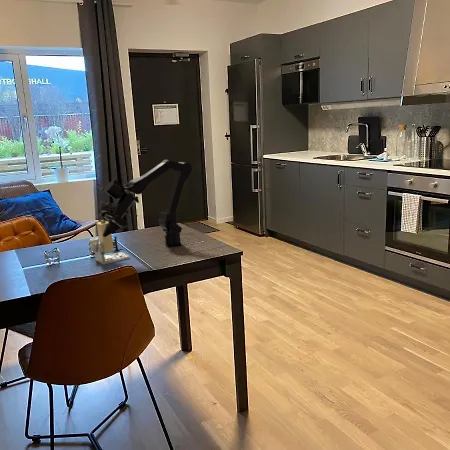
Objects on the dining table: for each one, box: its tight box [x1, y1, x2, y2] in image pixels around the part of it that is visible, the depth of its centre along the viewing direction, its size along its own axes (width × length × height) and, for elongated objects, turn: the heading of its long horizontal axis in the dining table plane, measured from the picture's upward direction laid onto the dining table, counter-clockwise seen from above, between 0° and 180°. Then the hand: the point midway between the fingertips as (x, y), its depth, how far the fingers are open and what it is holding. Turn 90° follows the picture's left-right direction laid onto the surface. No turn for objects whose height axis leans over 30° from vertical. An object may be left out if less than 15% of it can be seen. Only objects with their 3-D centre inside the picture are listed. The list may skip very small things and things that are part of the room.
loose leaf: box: [96, 219, 115, 254], centre depth 202 cm, size 4×5×14 cm
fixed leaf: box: [93, 243, 130, 266], centre depth 204 cm, size 12×9×8 cm
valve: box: [89, 235, 119, 252], centre depth 218 cm, size 7×7×12 cm
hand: (101, 235), depth 201 cm, fingers closed on loose leaf, 5 cm apart
